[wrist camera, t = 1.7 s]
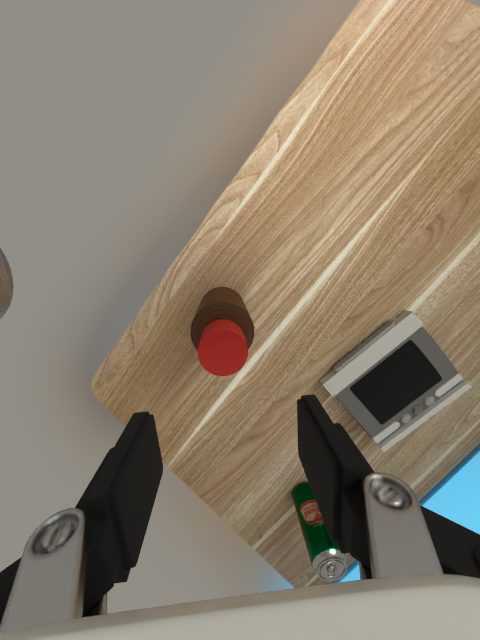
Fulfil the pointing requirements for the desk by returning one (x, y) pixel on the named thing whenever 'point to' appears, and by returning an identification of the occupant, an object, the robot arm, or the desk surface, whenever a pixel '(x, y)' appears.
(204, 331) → the cap
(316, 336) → the desk surface
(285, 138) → the desk surface
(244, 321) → the bottle
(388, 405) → the alarm clock
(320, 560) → the soda can
